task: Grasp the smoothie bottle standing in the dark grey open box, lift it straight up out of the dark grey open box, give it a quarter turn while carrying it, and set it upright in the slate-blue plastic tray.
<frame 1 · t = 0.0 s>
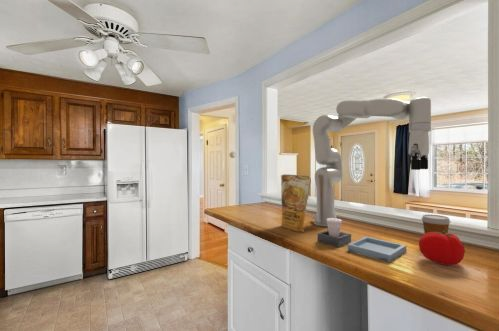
hand: (419, 169, 104), 31 cm above the worktop, tool pointing down, fingers open, 9 cm apart
tomato: (441, 262, 86), on the worktop
smoothie: (334, 242, 108), resting in dark grey open box
dark grey open box: (334, 241, 108), on the worktop
pancake mix bag: (293, 228, 131), on the worktop
tray: (376, 251, 96), on the worktop
disposable coffee cup: (435, 246, 102), on the worktop
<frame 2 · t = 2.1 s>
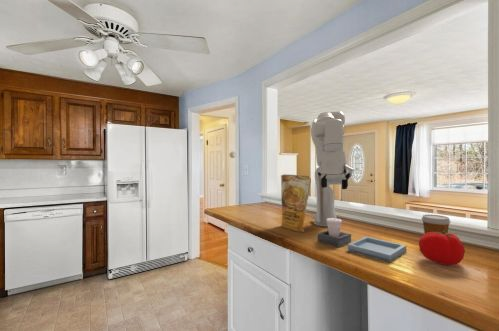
hand: (334, 188, 108), 23 cm above the worktop, tool pointing down, fingers open, 9 cm apart
nothing on the worktop moved.
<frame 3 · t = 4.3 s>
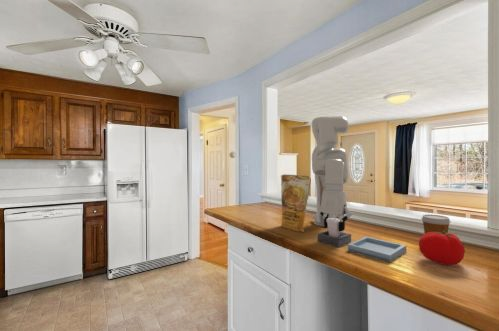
hand: (334, 228, 108), 6 cm above the worktop, tool pointing down, fingers closed on smoothie, 6 cm apart
smoothie: (334, 242, 108), resting in dark grey open box, touching gripper
everything else where it was.
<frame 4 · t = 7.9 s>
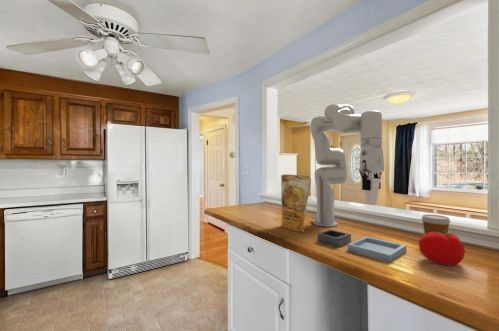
hand: (371, 189, 97), 24 cm above the worktop, tool pointing down, fingers closed on smoothie, 6 cm apart
smoothie: (371, 204, 97), point 18 cm above the worktop, touching gripper
everything else where it was.
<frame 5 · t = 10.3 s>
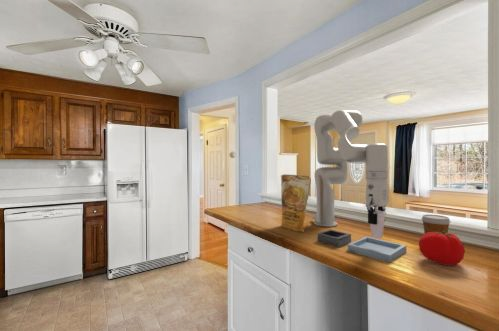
hand: (376, 222, 96), 11 cm above the worktop, tool pointing down, fingers closed on smoothie, 6 cm apart
smoothie: (376, 237, 96), point 6 cm above the worktop, touching gripper
everything else where it was.
when the fingers open (8 cm above the worktop, at t = 12.0 s): smoothie drops 1 cm, resting on tray.
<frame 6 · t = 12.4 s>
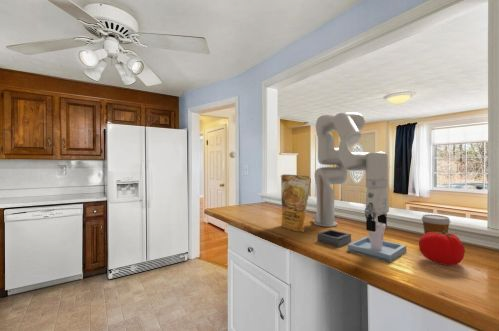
hand: (376, 228, 96), 9 cm above the worktop, tool pointing down, fingers open, 9 cm apart
smoothie: (376, 249, 97), point 1 cm above the worktop, touching tray
everything else where it was.
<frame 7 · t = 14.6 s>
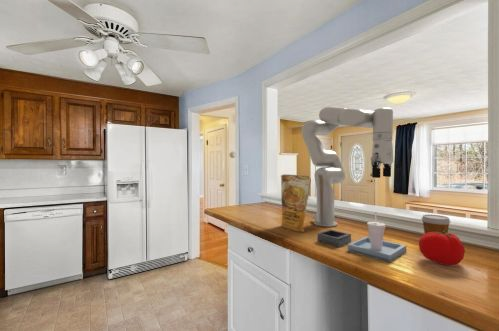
hand: (381, 177, 108), 28 cm above the worktop, tool pointing down, fingers open, 9 cm apart
nothing on the worktop moved.
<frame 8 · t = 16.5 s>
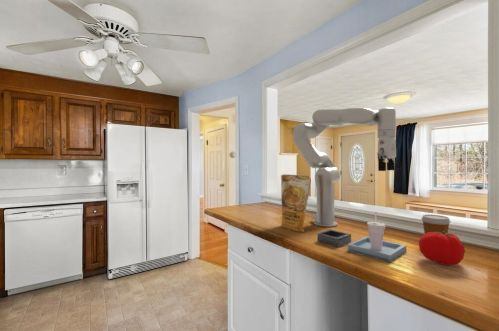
hand: (386, 170, 119), 30 cm above the worktop, tool pointing down, fingers open, 9 cm apart
nothing on the worktop moved.
at the end: smoothie inside the target area on the tray (0.1 cm from its centre), point 0.8 cm above the tray's base; smoothie tilted 0°; the gripper is holding nothing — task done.
